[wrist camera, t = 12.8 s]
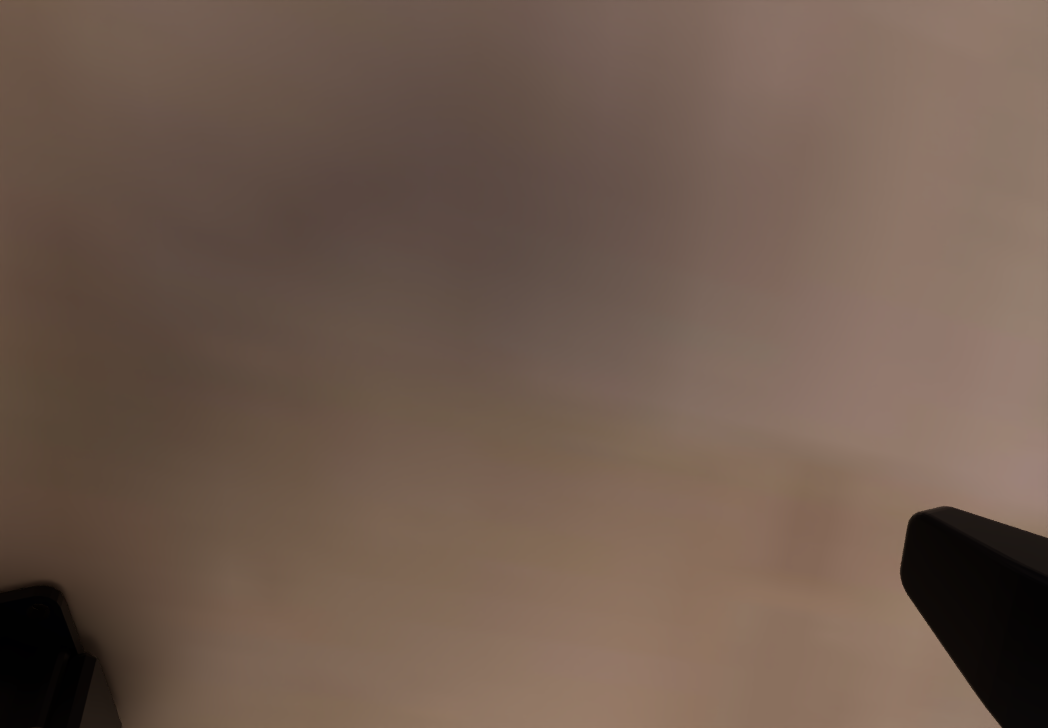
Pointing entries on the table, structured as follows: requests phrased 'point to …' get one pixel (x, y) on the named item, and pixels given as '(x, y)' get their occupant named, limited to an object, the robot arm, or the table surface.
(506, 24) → the table surface
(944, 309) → the table surface
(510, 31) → the table surface
